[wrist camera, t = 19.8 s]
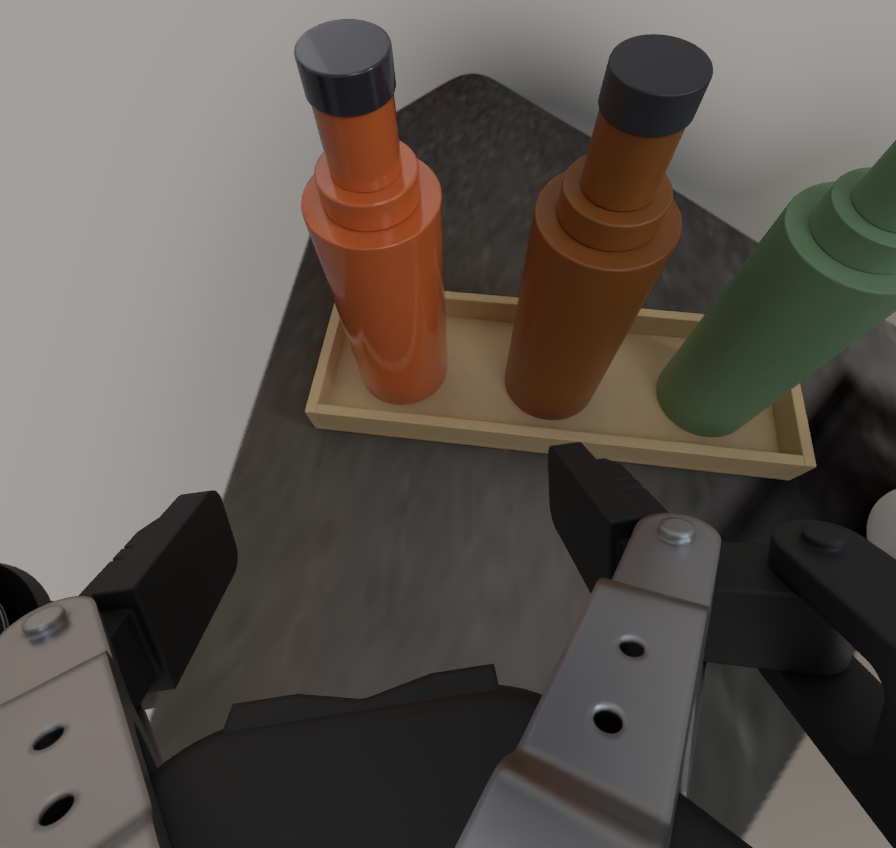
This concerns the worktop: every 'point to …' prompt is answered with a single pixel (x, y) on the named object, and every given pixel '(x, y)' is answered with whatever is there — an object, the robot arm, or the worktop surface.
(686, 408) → the sage bottle
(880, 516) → the water bottle
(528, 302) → the amber bottle
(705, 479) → the worktop surface
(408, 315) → the terracotta bottle
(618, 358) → the tray
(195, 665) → the worktop surface
